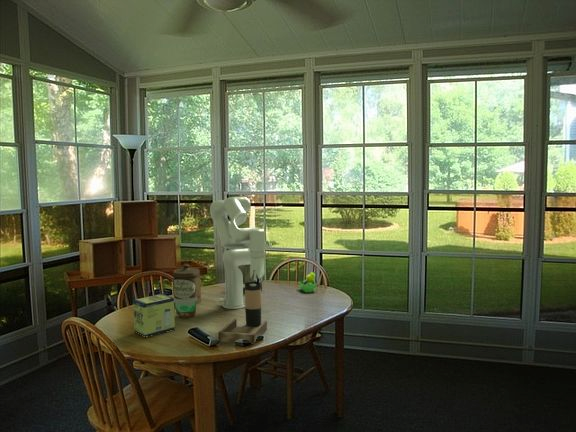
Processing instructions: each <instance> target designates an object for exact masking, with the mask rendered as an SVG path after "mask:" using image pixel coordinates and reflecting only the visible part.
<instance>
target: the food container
mask: <svg viewBox="0 0 576 432" xmlns="http://www.w3.org/2000/svg"><path fill="white" fill-rule="evenodd" d="M173 298H174V297H173ZM197 301H198V298H197V296H196V297H194V298H181V299H176V298H174V308H175V313H176V318H178V319H182V320H183V319H185V320H186V319H191V318H194V317H196V313H197V304H196V302H197Z"/></svg>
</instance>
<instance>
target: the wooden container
mask: <svg viewBox="0 0 576 432" xmlns="http://www.w3.org/2000/svg"><path fill="white" fill-rule="evenodd" d="M172 274H173V298H176V299H181V298H194V297H196V296H197V298H198V301H197V302H196V305H197V304H200V303H201V302H202V292H201V291H202V288H201V272H200V269H198V268H194V267H190V264H189V263H184V264H183V265H182V268H180V269H175V270H173V272H172Z"/></svg>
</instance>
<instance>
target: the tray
mask: <svg viewBox="0 0 576 432" xmlns="http://www.w3.org/2000/svg"><path fill="white" fill-rule="evenodd" d="M237 323H238V322H237V318H233V319H232V320H231V321H230V322H229V323H228V324H226V325H225V326H224V327H223V328H222V329H221V330H219V331H218V332H217V336H218V337H217V340H218V341H219V342H220V343H233V344H235V343H234V342H235V341H236V340H239V339H246V340H248V341H249V342H251V344H250V345H255V344H256V343H255V342H257V341H256V339H257V337H258V336H260V335H262V336H263V334H264V333H265V332H266V331H267V329H268V320H263V321H262V322H261V325H260V326H258V327H248V326H237V325H238V324H237ZM219 342H218V343H219Z"/></svg>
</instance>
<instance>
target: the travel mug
mask: <svg viewBox="0 0 576 432" xmlns="http://www.w3.org/2000/svg"><path fill="white" fill-rule="evenodd" d="M244 302H245V307H244V311H245V313H244V314H245V327H253V328H258V327H259V326H260V325H261V324H262V291H261V283H259V282H248V283H245V284H244Z"/></svg>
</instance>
